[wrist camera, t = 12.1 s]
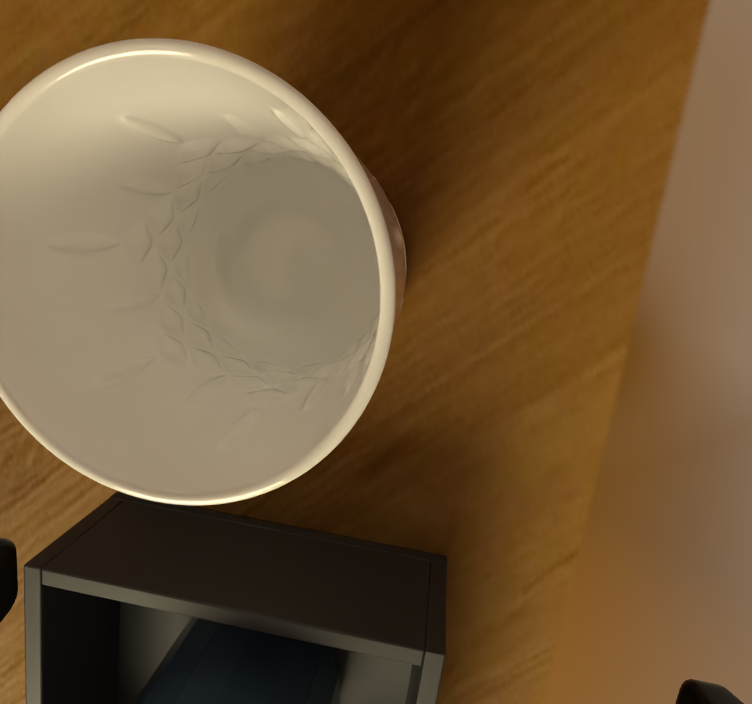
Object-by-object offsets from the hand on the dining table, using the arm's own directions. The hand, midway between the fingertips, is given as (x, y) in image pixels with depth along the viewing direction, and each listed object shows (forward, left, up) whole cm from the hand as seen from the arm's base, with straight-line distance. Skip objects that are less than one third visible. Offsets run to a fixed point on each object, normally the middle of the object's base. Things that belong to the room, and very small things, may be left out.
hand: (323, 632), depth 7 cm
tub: (-4, +13, -13) cm, 19 cm away
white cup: (+5, -1, -13) cm, 14 cm away
